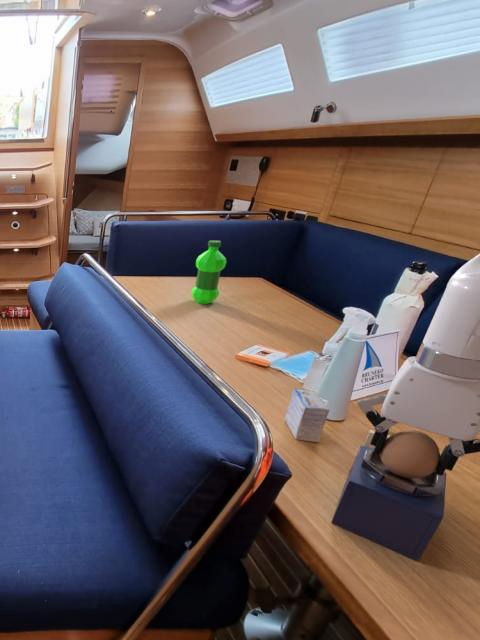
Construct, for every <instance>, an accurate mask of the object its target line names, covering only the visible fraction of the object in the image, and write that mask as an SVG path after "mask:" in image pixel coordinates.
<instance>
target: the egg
mask: <svg viewBox="0 0 480 640" xmlns="http://www.w3.org/2000/svg"><path fill="white" fill-rule="evenodd" d="M396 432H397V433H395V434H393V435H391V436H390V437H388V438H387V439H386V440H385V442H384V445H383V447H382V449H381V451H380V456H381V459H382V462H383V463H384V465H385V466H386V467H387V468H388V469H389V470H390V471H391V472H392V473H394V474H396V475H398V476H401V477H405V478H421V477H425V476H427V475H430V474H431V473H432V472H434V471H435V470H436V468H437V467H438V465H439V462H440V456H441V455H440V452H439V451H440V448H439V445H438V443H437V442H436V441H435V440H434V439H433V437H431V436H430V435H429V434H428V433H426V432H423V431H421V430H416V429H405V430H399V431H396Z"/></svg>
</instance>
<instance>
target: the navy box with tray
mask: <svg viewBox="0 0 480 640" xmlns="http://www.w3.org/2000/svg"><path fill="white" fill-rule="evenodd" d="M366 449H371V448H370V447H367V446H364V444H361V445H360V447H359V449H358V451H357V453H356V456H355V457H354V461H353V463H352V465H351V467H350V470H349V473H348V475H347V477H346V479H345V482H344V485H343V487H342V491H341V493H340V496H339V499H338V501H337V504H336V508H335V510H334V513H333V516H332V518H331V521H330V522H331V524H332V525H335V526H337V527H339V528H341V529H344V530H346V531H348V532H351V533H353V534H355V535H357V536H360V537H362V538H363V539H366V540H368V541H371V542H373V543H376V544H377V545H379V546H382V547H384V548H387V549H389V550H391V551H393V552H395V553H397V554H400V555H402V556H404V557H407V558H408V559H411V560H413V561H415V562H419V560H420V559H421V557H422V555H423V554H424V552H425V550H426V548H427V547H428V545H429V543H430V542H431V540H432V537H433V536H434V535H435V533H436V531H437V530H438V527H439V526H440V524H441V523H442V520H443V519H444V517H445V501H446V486H447V472H445V471H444V473H443V475H445V477H444V488H443V489H442V491H441V493H440V494H439V495H436V496H433V497H429V498H420V497H413V496H408V495H404V494H401V493H398V492H395V491H392V490H390V489H388V488H386V487H384V486H382V485H380V484H378V483H377V482H375V481H373V480H372V479H371V478H369V477H368V476H367V475H366V474H365V473H364V471H363V470H362V468H361V462H362V460H363V456H364V454H365V452H366Z"/></svg>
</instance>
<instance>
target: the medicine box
mask: <svg viewBox="0 0 480 640" xmlns="http://www.w3.org/2000/svg"><path fill="white" fill-rule="evenodd" d="M329 412H330V409H329V407H328V406H327V405H326V404H325V402H324V400H323V399H322V398H321V397H320V395H319V394H318V393H317V391H314V390H306V389H293V391H292V393H291V396H290V400H289V404H288V405H287V410H286V413H285V417H284V421H285V423H286V424H287V426H288V428H289V430H290V432H291V434H292V435H293V437H294V439H295V440H297V441H298V440H299V441H303V442H310V443H311V442H312V443H319V442H320V439H321V436H322V434H323V432H324V431H323V430H324V427H325V425H326V422H327V419H328V416H329Z"/></svg>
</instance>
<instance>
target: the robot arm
mask: <svg viewBox="0 0 480 640" xmlns="http://www.w3.org/2000/svg"><path fill="white" fill-rule="evenodd" d="M445 287H446V288H445V290H444V292H443V294H442V296H441V299H440V301H439V304H438V306H437V307H436V310H435V312H434V315H433V317H432V319H431V322H430V324H429V326H428V328H427V330H426V332H425V335H424V338H423V340H422V342H421V344H420V347H419V349H418V351H417V354H416V356H409V357H408V358H406V359H405V360H404V362H403V363H402V364H401V366H400V367H399V369H398V371H397V372H396V374H395V376H394V377H393V379H392V382H391V383H390V384H389V385H390V386H389V387H388V389H387V391H384V392H380V393H376V394H373V395H369V396H365V397H361V398H359V399H358V400H357V403H356V404H357V406H358V407H359V408H360V410H361V411H362V413H363V414H364V415H365V417H366V418H367V420H368V421H369V422H370V423H371V424H372V426H373V427H374V431H375V433H374V435H373V438H372V440H371V443H370V444H371V445H374V446H375V448H374V452H373V453H375V454H380V451H381V449H382V447H383V445H384V442H385V440H386V438H387V436H388V432H389V430H390V428H392V427H393V426H396V425H397V424H402V425H405V426H407V427H412V428H415V429H418V430H420V431H421V430H422V431H425V432H428V433H432V434H435V435H439V436H443V437H446V438H448V441H449V444H447V445H445V446H444V448H443V450H442V451H441V455H440V462H439V465H438V467H437V468H436V471H435V473H437V474H438V475H441V476H442V475H443V473H444V472H445V471H446V470H447V471H450V472H452V471H453V469H454V467H455V466H456V464H457V462H458V460H459V458H463V457H464V456H465V455H470V454H474V453H475V454H476V453H480V438H477V436H478V435H479V433H480V253H479V254H477V255H476V256H474V257H473V258H471V259H470V260H468V261H467V262H466V263H464V264H463V265H462V266H461V267H460V268H459V269H457V270H456V271H455V273H454V274H452V275H451V277H450V278H449V280H448V282H447V284H446V286H445ZM381 404H382V406H381V410H380V413H379V411H377V410H376V409H375V408H374V406H378V405H381Z"/></svg>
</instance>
